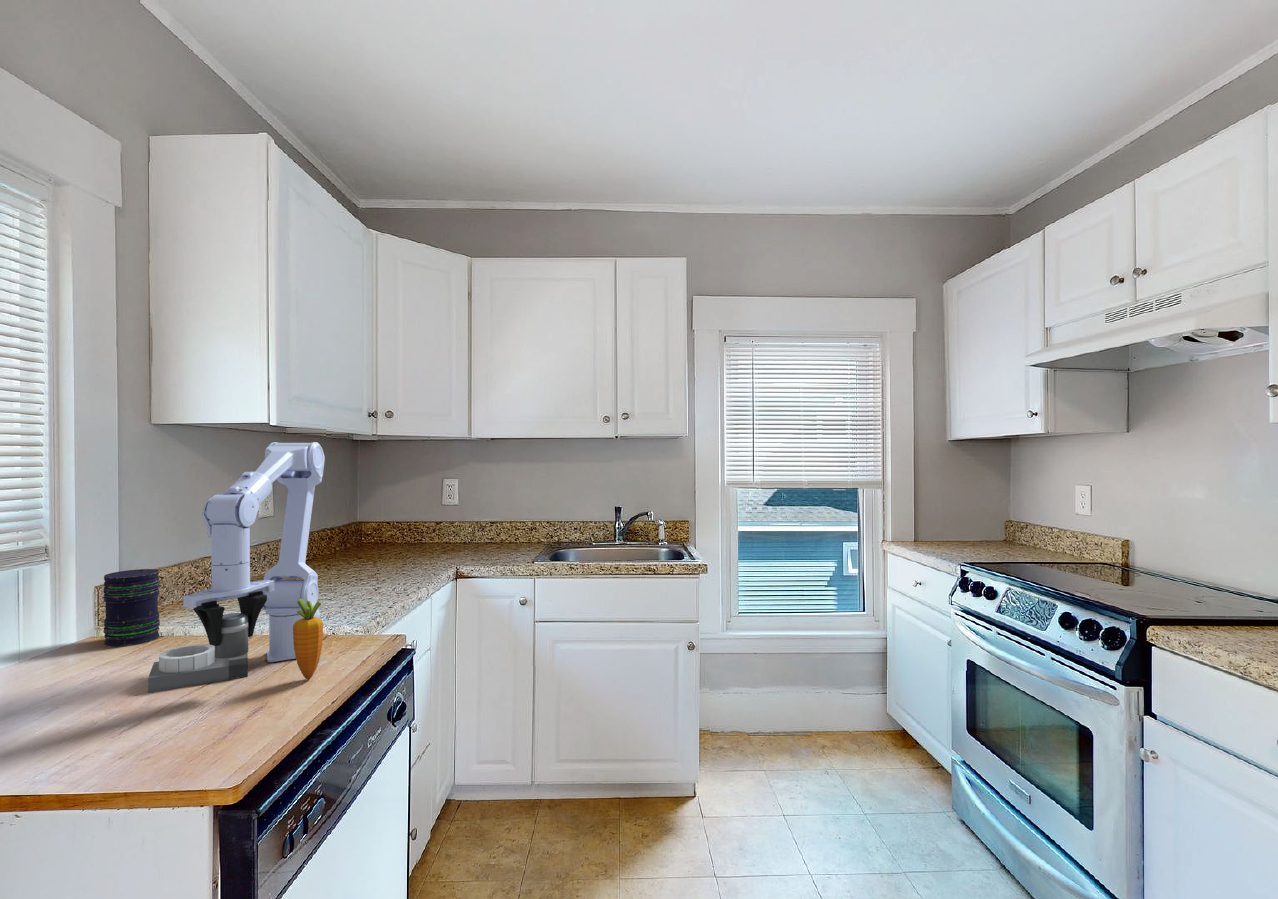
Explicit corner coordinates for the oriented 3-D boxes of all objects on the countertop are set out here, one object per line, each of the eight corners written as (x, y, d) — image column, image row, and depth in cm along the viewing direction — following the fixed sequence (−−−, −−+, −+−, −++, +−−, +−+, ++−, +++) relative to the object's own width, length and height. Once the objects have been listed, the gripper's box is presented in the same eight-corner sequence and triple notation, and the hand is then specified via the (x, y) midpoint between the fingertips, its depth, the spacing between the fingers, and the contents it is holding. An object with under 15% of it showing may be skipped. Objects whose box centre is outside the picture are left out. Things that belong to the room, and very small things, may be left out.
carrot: (329, 676, 121) (329, 596, 121) (308, 686, 117) (307, 603, 117) (308, 673, 123) (308, 594, 123) (286, 682, 118) (286, 600, 118)
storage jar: (136, 647, 139) (136, 577, 139) (91, 647, 139) (90, 577, 139) (170, 633, 149) (170, 569, 149) (128, 633, 149) (128, 569, 149)
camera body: (247, 661, 130) (246, 636, 130) (247, 676, 122) (247, 649, 122) (154, 675, 122) (154, 648, 122) (147, 692, 114) (147, 664, 114)
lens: (248, 647, 117) (248, 611, 117) (248, 655, 113) (248, 617, 113) (214, 652, 114) (214, 615, 114) (214, 660, 110) (213, 621, 110)
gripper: (257, 554, 122) (257, 626, 122) (172, 568, 109) (173, 648, 109) (281, 557, 118) (281, 631, 119) (196, 571, 106) (197, 655, 106)
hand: (231, 640), depth 114 cm, fingers closed on lens, 5 cm apart
